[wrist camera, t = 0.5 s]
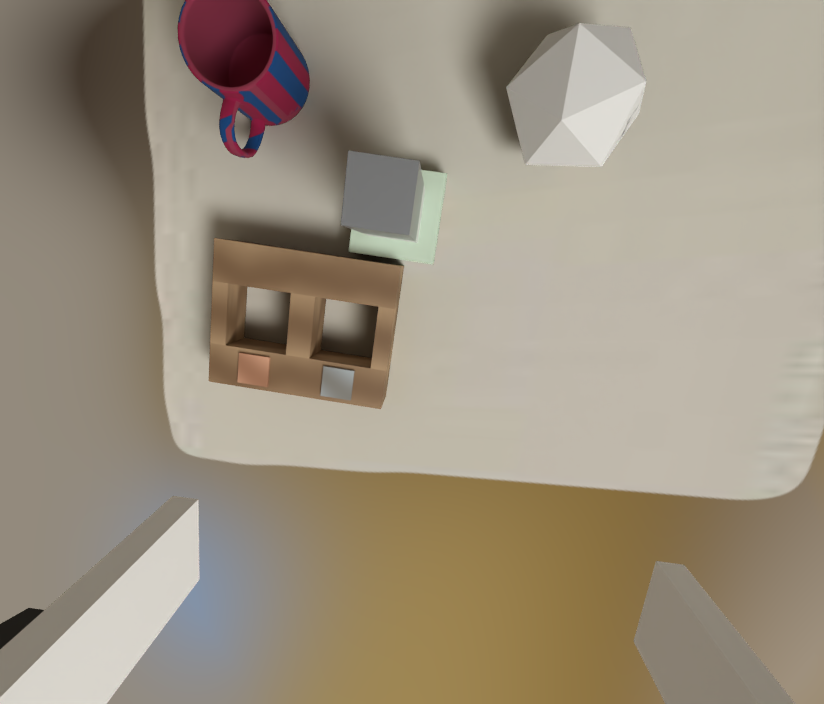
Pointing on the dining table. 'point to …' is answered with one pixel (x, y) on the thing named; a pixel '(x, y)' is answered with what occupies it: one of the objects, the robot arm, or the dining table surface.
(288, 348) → the socket block
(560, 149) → the die
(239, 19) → the mug
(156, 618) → the robot arm
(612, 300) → the dining table surface
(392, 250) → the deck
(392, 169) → the plug
